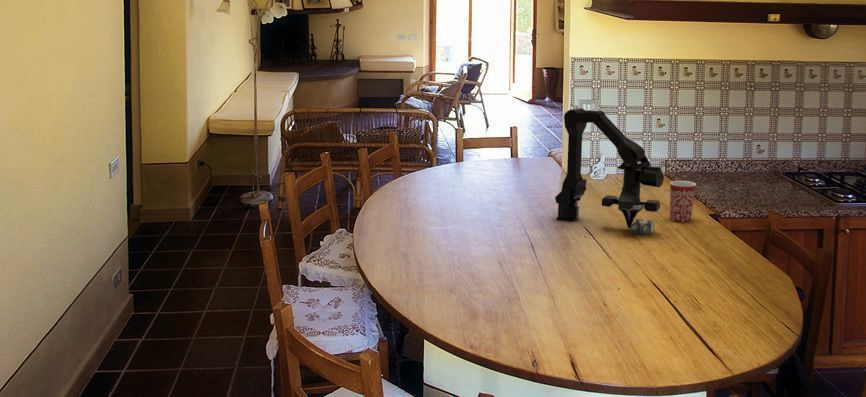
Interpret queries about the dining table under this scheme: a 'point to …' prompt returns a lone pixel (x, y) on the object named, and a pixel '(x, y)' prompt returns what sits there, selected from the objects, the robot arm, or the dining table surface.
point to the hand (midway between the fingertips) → (629, 227)
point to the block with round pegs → (644, 224)
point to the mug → (681, 200)
